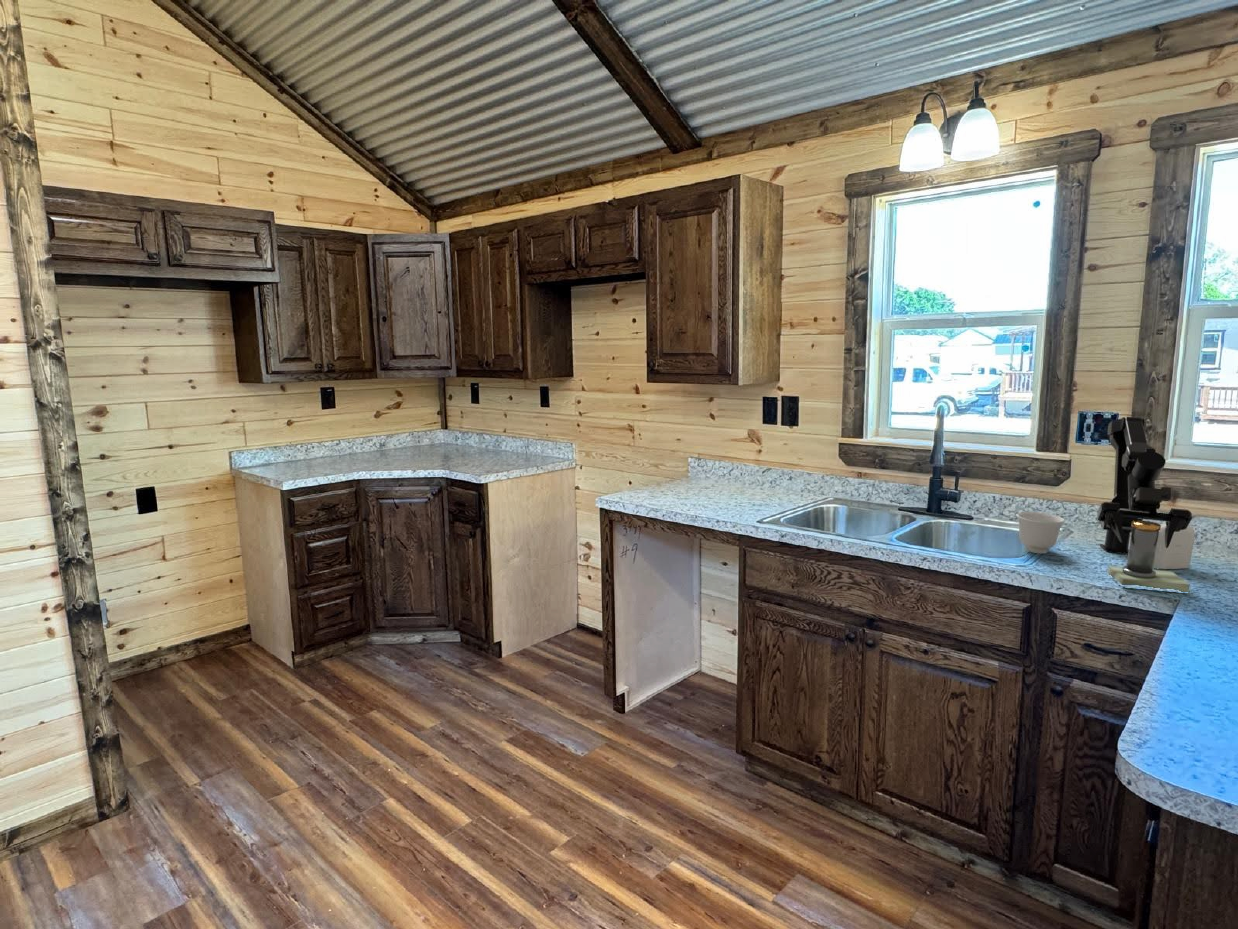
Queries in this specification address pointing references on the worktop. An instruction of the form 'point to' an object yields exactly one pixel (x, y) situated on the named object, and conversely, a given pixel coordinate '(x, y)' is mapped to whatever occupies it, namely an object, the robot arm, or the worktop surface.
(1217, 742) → the worktop surface
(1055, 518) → the teacup
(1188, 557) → the photo printer
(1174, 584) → the stand
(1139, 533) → the cylinder
